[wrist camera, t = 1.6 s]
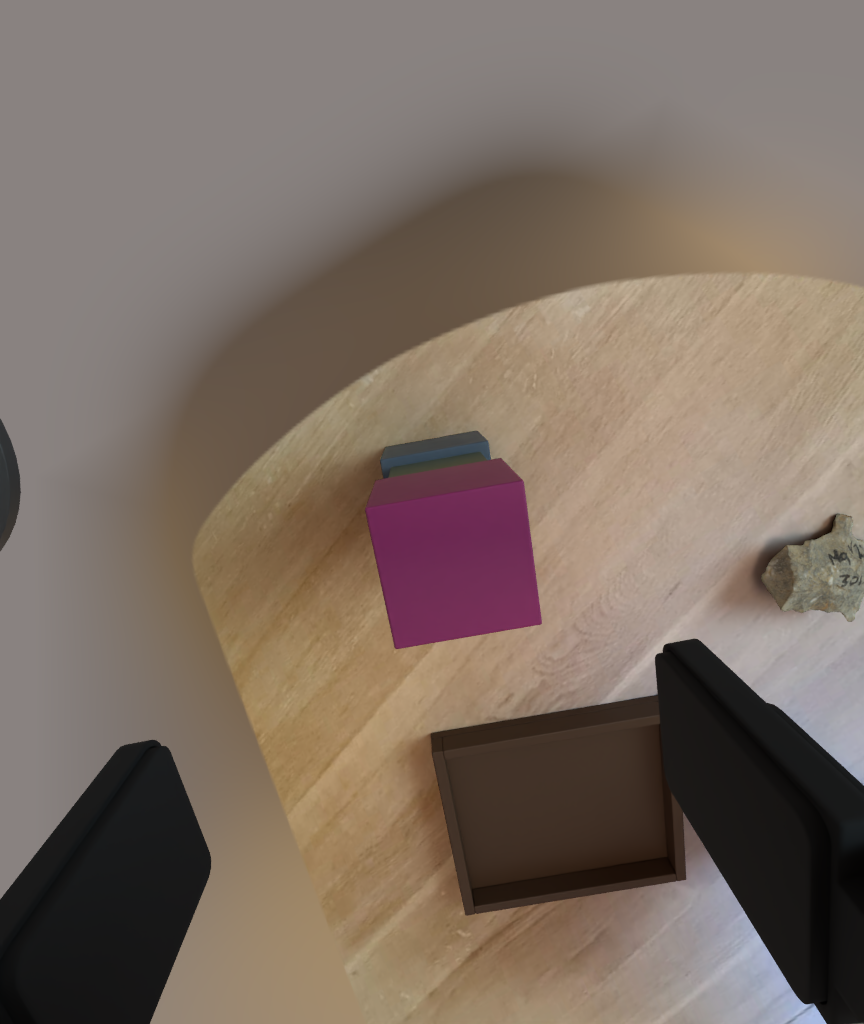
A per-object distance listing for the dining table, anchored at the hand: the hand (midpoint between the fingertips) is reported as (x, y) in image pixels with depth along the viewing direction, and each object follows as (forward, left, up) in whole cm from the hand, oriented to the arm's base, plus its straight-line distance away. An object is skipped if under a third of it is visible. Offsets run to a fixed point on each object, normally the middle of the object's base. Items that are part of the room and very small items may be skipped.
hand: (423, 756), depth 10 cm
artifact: (+26, -11, -25) cm, 38 cm away
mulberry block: (+1, 0, -15) cm, 15 cm away
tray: (+6, -27, -25) cm, 37 cm away
